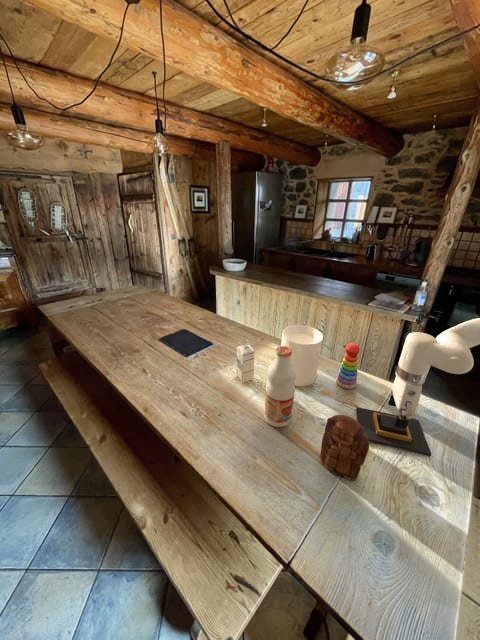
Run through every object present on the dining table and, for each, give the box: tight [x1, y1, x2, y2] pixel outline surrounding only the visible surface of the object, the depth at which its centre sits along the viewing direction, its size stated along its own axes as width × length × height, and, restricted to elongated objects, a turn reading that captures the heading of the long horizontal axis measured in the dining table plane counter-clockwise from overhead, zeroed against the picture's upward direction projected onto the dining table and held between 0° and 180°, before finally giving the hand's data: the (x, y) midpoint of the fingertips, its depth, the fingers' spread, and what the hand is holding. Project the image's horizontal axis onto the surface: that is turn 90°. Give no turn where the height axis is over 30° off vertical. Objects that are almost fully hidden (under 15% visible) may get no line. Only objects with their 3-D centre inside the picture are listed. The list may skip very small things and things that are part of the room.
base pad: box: [356, 406, 432, 457], centre depth 88 cm, size 20×14×2 cm
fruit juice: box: [263, 345, 296, 428], centre depth 87 cm, size 9×9×28 cm
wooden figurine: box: [319, 414, 370, 482], centre depth 73 cm, size 12×6×18 cm, turn 56°
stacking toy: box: [335, 342, 361, 390], centre depth 106 cm, size 8×8×19 cm
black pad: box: [378, 414, 406, 435], centre depth 88 cm, size 7×6×3 cm
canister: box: [280, 324, 324, 387], centre depth 111 cm, size 16×16×20 cm
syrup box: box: [236, 343, 256, 383], centre depth 110 cm, size 6×6×14 cm
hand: (396, 415), depth 86 cm, fingers open, 9 cm apart
